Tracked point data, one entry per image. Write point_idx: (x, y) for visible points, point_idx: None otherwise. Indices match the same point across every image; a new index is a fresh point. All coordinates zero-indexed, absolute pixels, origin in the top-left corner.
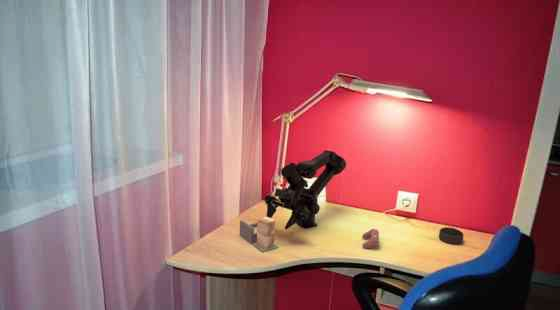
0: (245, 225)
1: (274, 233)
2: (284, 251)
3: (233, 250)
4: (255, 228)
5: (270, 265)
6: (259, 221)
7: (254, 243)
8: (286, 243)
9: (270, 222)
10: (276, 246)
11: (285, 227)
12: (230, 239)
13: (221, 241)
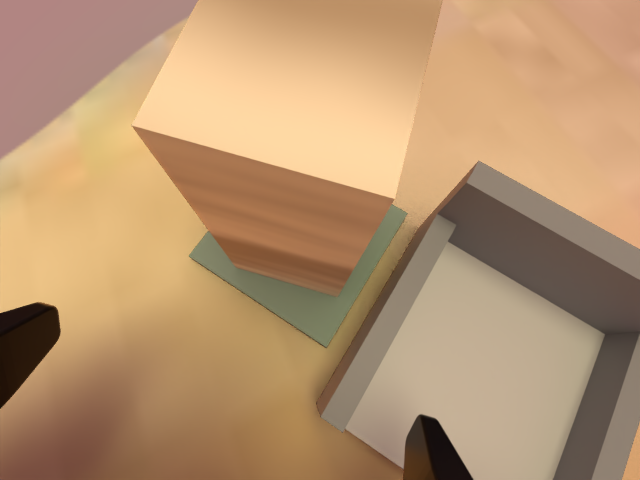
0: (602, 240)
1: (209, 231)
2: (128, 226)
3: (465, 93)
4: (533, 453)
5: (171, 29)
6: (394, 7)
7: (392, 223)
8: (145, 375)
9: (195, 18)
10: (206, 254)
11: (34, 307)
12: (590, 220)
13: (616, 164)
